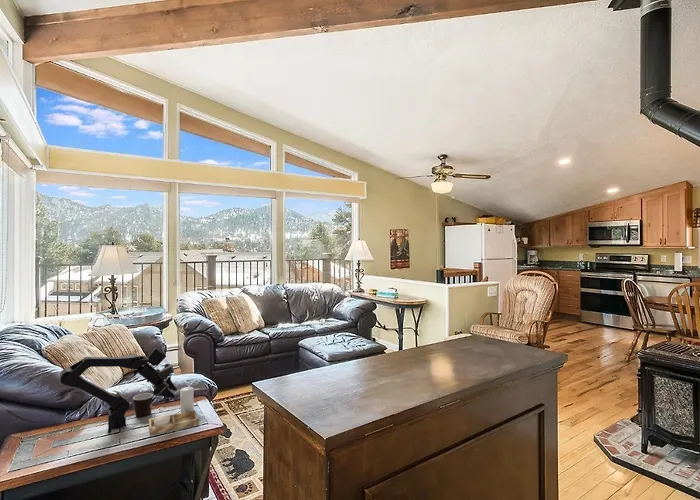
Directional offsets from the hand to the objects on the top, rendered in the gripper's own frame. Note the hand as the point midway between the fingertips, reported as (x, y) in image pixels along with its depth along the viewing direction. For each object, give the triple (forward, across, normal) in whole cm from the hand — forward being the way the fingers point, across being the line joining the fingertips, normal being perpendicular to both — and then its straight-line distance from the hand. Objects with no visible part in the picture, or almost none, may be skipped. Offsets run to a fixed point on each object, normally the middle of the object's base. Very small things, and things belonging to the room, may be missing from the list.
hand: (175, 393), depth 190 cm
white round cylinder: (+4, -12, +11) cm, 16 cm away
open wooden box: (+8, -11, +8) cm, 16 cm away
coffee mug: (-2, +7, +18) cm, 20 cm away
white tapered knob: (+12, 0, +4) cm, 13 cm away
